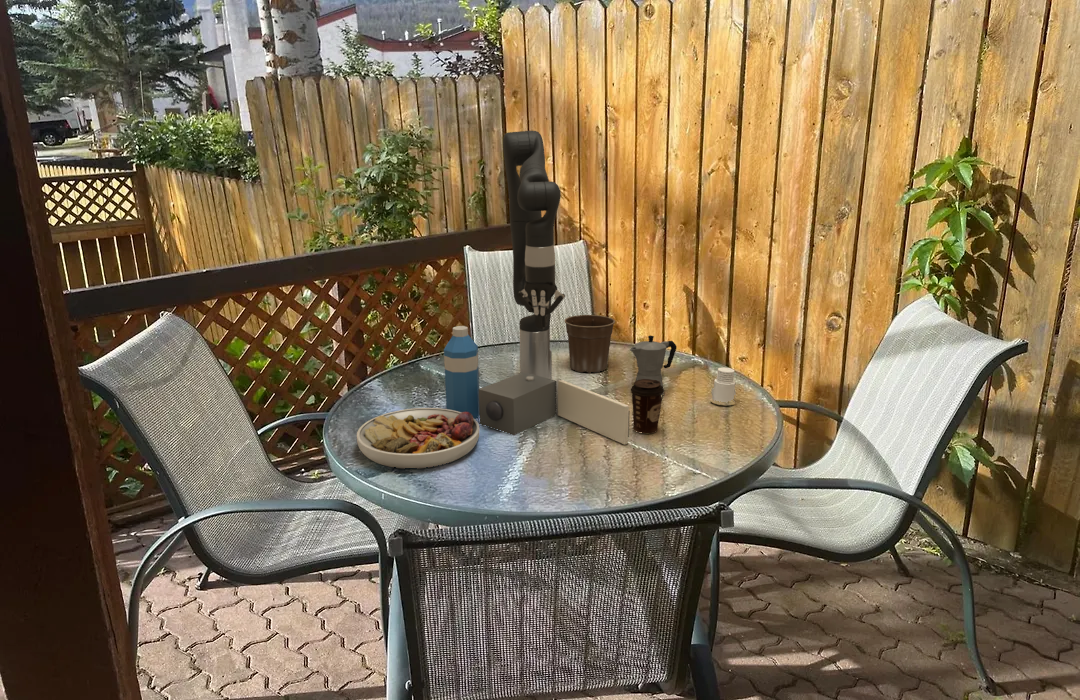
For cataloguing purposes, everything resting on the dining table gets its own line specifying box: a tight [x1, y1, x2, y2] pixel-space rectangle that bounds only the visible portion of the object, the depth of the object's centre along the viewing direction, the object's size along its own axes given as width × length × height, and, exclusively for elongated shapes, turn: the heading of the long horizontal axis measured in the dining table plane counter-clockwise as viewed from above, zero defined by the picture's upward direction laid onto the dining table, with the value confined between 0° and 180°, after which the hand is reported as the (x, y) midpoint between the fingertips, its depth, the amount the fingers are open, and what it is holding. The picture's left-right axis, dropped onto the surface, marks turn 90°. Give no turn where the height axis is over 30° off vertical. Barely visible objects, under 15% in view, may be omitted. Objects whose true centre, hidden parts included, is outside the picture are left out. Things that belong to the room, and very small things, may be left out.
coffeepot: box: [629, 335, 677, 395], centre depth 224 cm, size 15×9×18 cm, turn 113°
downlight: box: [710, 367, 737, 402], centre depth 218 cm, size 8×7×10 cm
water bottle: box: [443, 325, 480, 420], centre depth 207 cm, size 9×9×25 cm
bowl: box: [356, 407, 480, 469], centre depth 190 cm, size 30×30×8 cm
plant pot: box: [564, 314, 616, 374], centre depth 249 cm, size 16×16×16 cm
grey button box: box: [479, 372, 557, 436], centre depth 206 cm, size 19×12×11 cm, turn 141°
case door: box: [555, 378, 630, 445], centre depth 200 cm, size 27×2×10 cm, turn 39°
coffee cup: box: [630, 379, 665, 434], centre depth 199 cm, size 9×8×13 cm
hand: (541, 328), depth 198 cm, fingers closed
